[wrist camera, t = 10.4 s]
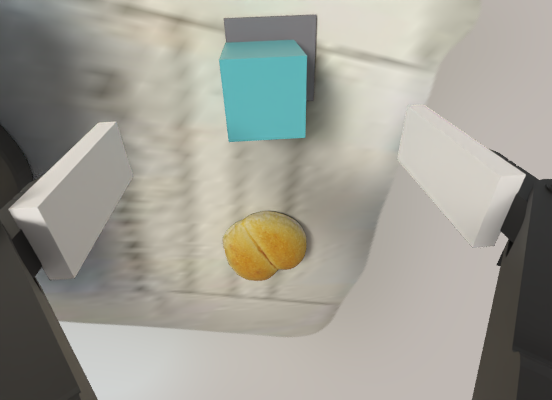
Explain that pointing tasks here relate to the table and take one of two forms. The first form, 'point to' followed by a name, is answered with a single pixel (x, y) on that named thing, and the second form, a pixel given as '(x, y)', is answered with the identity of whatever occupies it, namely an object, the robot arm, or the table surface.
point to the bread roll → (264, 245)
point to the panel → (278, 36)
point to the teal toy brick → (264, 90)
